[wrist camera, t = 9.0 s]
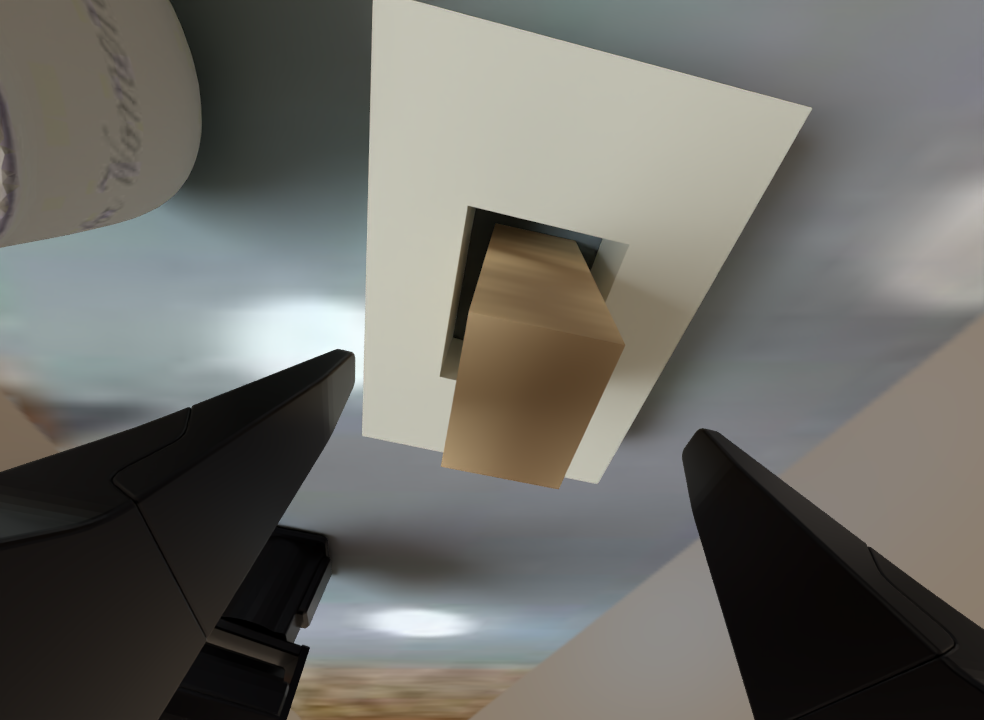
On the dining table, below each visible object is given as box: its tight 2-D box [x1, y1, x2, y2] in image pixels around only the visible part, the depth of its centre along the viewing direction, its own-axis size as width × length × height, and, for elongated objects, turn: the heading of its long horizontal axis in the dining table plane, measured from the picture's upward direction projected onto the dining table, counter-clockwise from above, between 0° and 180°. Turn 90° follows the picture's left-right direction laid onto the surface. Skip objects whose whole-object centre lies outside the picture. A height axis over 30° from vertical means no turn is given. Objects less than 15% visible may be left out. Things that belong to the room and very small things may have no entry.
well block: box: [362, 0, 812, 484], centre depth 15 cm, size 12×16×4 cm
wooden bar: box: [441, 223, 625, 489], centre depth 13 cm, size 4×5×9 cm
